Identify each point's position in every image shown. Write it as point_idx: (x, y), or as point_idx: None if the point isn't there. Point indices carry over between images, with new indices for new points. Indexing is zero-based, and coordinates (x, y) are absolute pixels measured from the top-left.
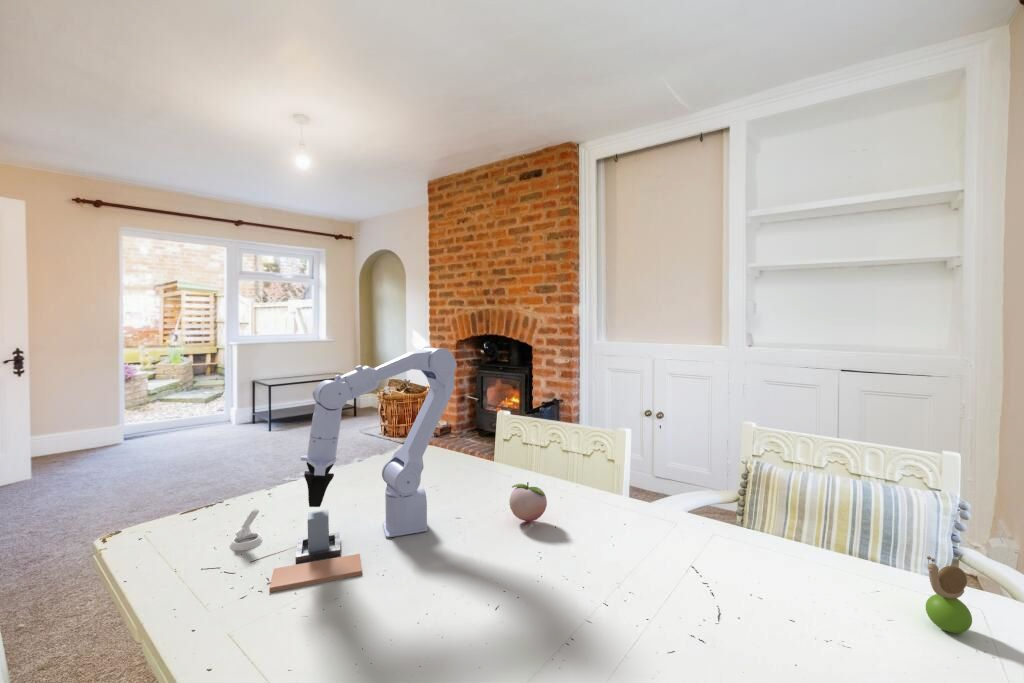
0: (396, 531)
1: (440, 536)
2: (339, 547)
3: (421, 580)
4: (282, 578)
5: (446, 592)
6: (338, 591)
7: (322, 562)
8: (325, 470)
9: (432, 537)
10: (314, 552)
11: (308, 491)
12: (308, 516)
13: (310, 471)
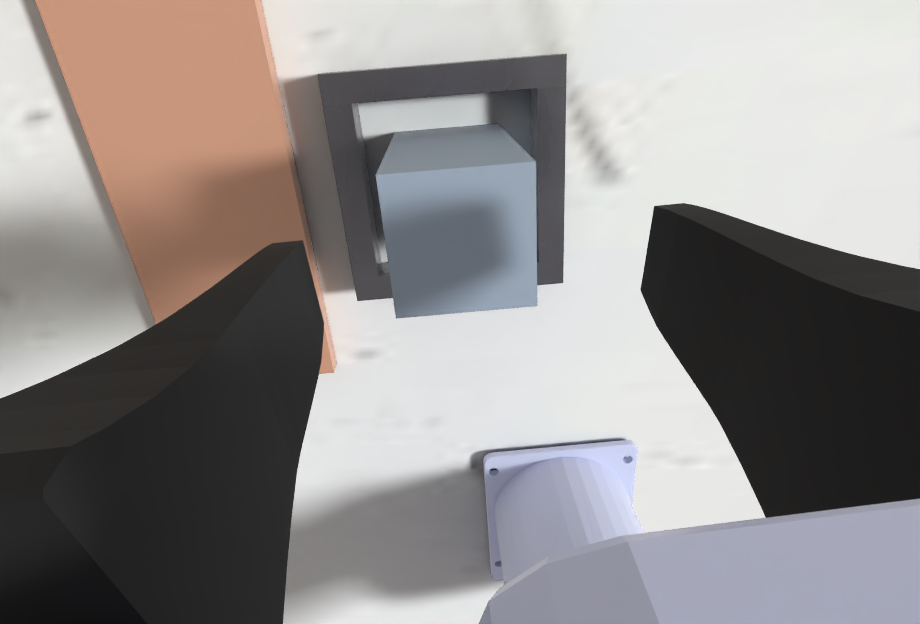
0: (501, 496)
1: (440, 601)
2: (382, 295)
3: None
4: (125, 28)
5: None
6: (57, 300)
7: (275, 221)
8: (796, 506)
9: (440, 582)
10: (353, 177)
11: (165, 320)
12: (442, 173)
13: (90, 583)
